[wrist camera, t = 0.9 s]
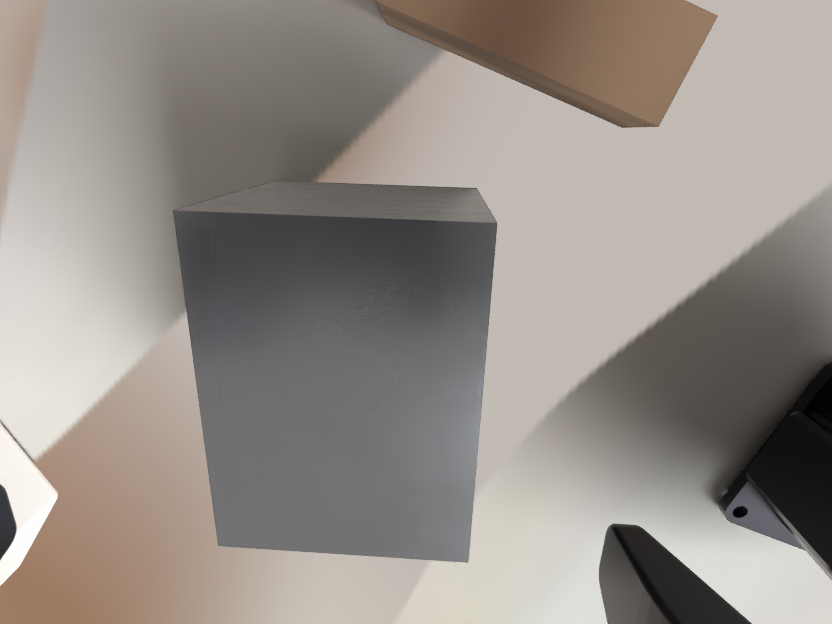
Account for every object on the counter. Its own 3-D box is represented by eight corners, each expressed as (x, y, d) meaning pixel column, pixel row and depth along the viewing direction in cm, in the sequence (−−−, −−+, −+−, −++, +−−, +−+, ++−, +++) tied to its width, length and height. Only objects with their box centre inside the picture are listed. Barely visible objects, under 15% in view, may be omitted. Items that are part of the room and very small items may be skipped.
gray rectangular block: (476, 188, 15) (497, 223, 9) (460, 423, 17) (468, 562, 12) (275, 180, 15) (173, 210, 9) (290, 413, 18) (218, 546, 12)
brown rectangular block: (668, 36, 13) (717, 16, 11) (622, 127, 14) (658, 126, 12) (420, -78, 13) (415, -126, 10) (387, 23, 13) (375, 0, 11)
